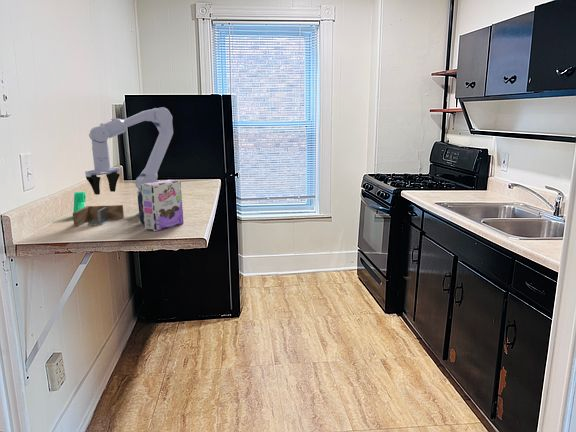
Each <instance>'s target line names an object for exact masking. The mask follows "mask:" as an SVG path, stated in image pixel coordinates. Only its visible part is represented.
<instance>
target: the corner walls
mask: <svg viewBox="0 0 576 432" xmlns="http://www.w3.org/2000/svg"><path fill="white" fill-rule="evenodd" d="M103 207H107V209H108V219H110V220H116V219H124V218H125V214H124V206H123V204H116V205H115V204H113V205H112V204H111V205H109V204H108V205H87V206H86V205H85V207H84V208H82V209H80V210H78V211H76V212H74V213H73V212H72V220H73V227H74V228H78V227H80V226H81V225H82V226H83V224H85V223H88V222H90V221H91V220H93V219H95V218H98V217H97V211H98V210H100V209H102V208H103Z"/></svg>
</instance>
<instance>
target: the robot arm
mask: <svg viewBox="0 0 576 432" xmlns="http://www.w3.org/2000/svg"><path fill="white" fill-rule="evenodd" d="M173 117H174V116H173V115H172V114H171V112H170V110H169V109H168V108H166V107H165V106H163V107H162V106H161V107H158V108H157V107H154V108H152V109H147V110H142V111H140V112H138V113H136V114H134V115H132V116H129V117H126V118H125V119H121V118H116V117H113V118H111V121H108V122H104V123H103V122H102V123H100V124H99V126H94V127H93V128H91V129H90V130H89V134H88V136H89V139H90V140H91V149H92V150H91V151H92V158H93V168H94V169H93V170H86V171H85V172H84V173H85V178H86V181H87V182H88V183H89V185H90V186H91V188H92V191H93V193H94V195H96V196H98V195H100V194H101V189H100V188H101V187H100V185H101V184H100V183H101V176H102V175H103V176H104V175H105V176H106V179H107V181H108V187H109V192H112V193H113V192H114V193H115V192H116V189H117V184H118V180H119V179H120V176H121V174H120V168H119V167H111V163H110V154H109V146H108V139H111V138H114V137H116V136H119V135H122V134H124V133H126V130H127V128H129V127H132V126H134V125H137V124H139V123H142V122H151V123H153V124H154V126H155V127H156V128H157V131H158V136H157V138H156V140H155V143H154V146H153V148H152V150H151V152H150V155H149V157H148V160H147V163H146V165H145V167H144V169H143V170H142V171H141V173H140V174H139V175H138V176H137V177H136V179H135V181H134V184H135V187H136V189H138V190H137V191H136V193H137V196H138V195H139V192H141V184H147V183H153V182H158V178H159V177H158V172H159V170H160V166H161V164H162V163H163V159H164V157H165V155H166V153H167V150H168V148H169V145H170V143H171V140H172V138H173V135H174V127H173V126H174V125H173V120H174V119H173ZM135 215H136V216H139V212H137V213H136V214H135Z"/></svg>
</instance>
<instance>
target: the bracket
mask: <svg viewBox="0 0 576 432" xmlns="http://www.w3.org/2000/svg"><path fill="white" fill-rule="evenodd" d="M97 217H98V218H95V219H91V220H89V221H87V223H88V224H89V225H88V224H87V225H88V226H91V225H90V224H103V223H104V222H106V221H107V220H109V219H108V209H107V207H103V208H102V209H100V210H98V211H97ZM109 221H110V220H109ZM107 222H108V221H107ZM107 222H106V223H107ZM104 224H105V223H104ZM104 224H103V225H104Z"/></svg>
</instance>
